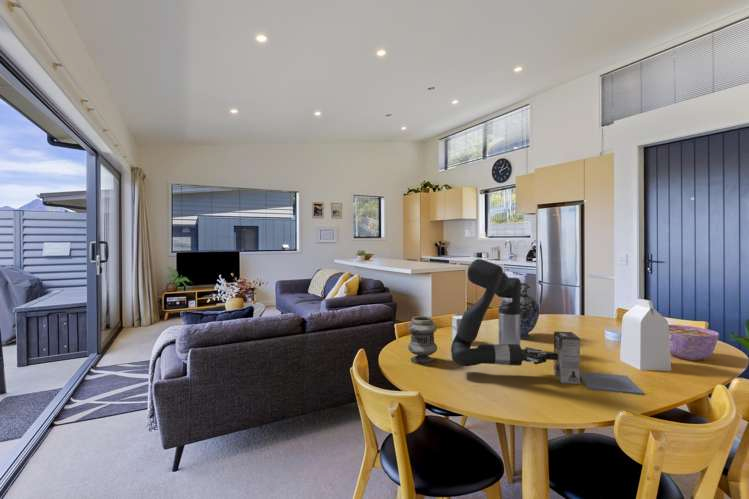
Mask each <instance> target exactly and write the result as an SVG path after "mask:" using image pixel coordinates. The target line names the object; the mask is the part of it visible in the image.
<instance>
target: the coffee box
mask: <svg viewBox="0 0 749 499" xmlns="http://www.w3.org/2000/svg"><path fill="white" fill-rule="evenodd" d="M553 332H554V333H553V353H556V354H558V359H557V360H553V374H554V376H555V377H556V378H557V380H558V381H559V382H560V383H561V384H574V385H576V384H577V385H580V371H581V370H580V368H581V367H580V365H581V364H580V362H581V361H580V360H581V358H580V356H581V338H580V337H578V335H576V334H575V333H574V332H572V331H553Z"/></svg>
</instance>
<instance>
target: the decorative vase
mask: <svg viewBox="0 0 749 499" xmlns="http://www.w3.org/2000/svg"><path fill="white" fill-rule="evenodd" d="M529 289H531V286H530V285H529V283H525V282H521V298H520V341H521V340H524V341H525V340H529V339H530V340H531V338H532V336H531V334H529V333H530V332H532V331H533V330H534V328H535V327H536V326H537V322H538V320H539V317H540V316H539V314H540V306H539V303H538V300H536V298H534V297H533V296H529V294H528V290H529ZM510 302H512V298H503V299H502V300H501V303H500V306H501V305H505V304H508V303H510Z"/></svg>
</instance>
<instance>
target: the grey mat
mask: <svg viewBox="0 0 749 499" xmlns="http://www.w3.org/2000/svg"><path fill="white" fill-rule="evenodd" d="M579 379H580V380H581V381H582V383H583V384H584V386H585V387H586V389H587V390H594V391H604V392H613V393H620V392H622V393H621V394H630V393H632V394H631V395H641V396H642V395H643V396H645V392H644V391H643V390H642V389H641V388H640V387H639V386H638V385H637V384H636V383H635V382H634V381H633V380H632V379H631V378H630V377H629V376H628V375H624V374H614V373H613V374H611V373H602V372H601V373H600V372H591V371H581V370H580V377H579Z"/></svg>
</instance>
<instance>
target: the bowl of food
mask: <svg viewBox="0 0 749 499" xmlns="http://www.w3.org/2000/svg"><path fill="white" fill-rule="evenodd" d="M668 326H669V343H670V355H673V356H674V357H675V358H678V359H682V360H687V361H699V360H700V359H701V360H702V359H706V358H708V357H710V356H711V355H712V354H713V353H714V351H715V348H716V345H717V343H718V340H719V337H720V333H719V332H717V331H716V330H712V329H709V328H708V329H707V328H703V327H699V326H698V327H697V326H690V325H680V324H668Z"/></svg>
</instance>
